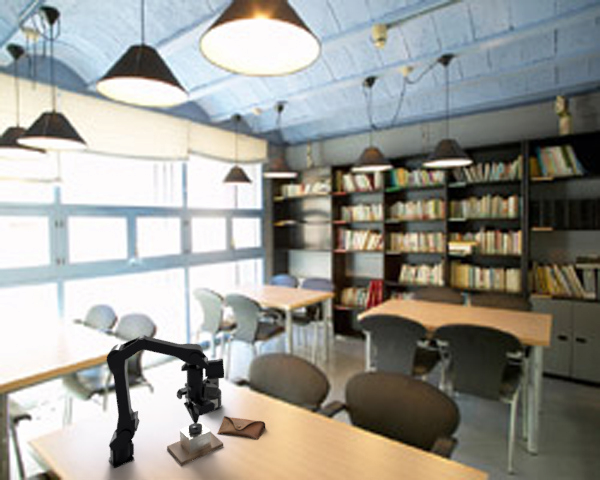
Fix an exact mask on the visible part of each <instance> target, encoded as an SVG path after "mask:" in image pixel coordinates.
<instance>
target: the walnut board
mask: <svg viewBox="0 0 600 480" xmlns="http://www.w3.org/2000/svg"><path fill="white" fill-rule="evenodd" d="M222 447H224V442H223V441H221V440H220V439H219V438H218V437H217V436H216V435H215V434H213V433H212V432H211V445H210V446H208V447H206V448H203V449H201V450H199V451H197V452H195V453H192V454H189V453H188V452H187V451H186V450H185V449H184V448H183V447H182V445H181V444H180V440H179V441H176V442H174V443H172V444H169V445H167V446H166V450H167V451H168V452H169V453H170V455H171V456H173V458H174V459H175V460H176V461H177V462H178V464H179V465H180V466H181V467H182V466H184V465H186V464H189V463H190V462H193V461H194V460H198V459H200V458H202V457H204V456H205V455H208V454H210V453H212V452H214V451H216V450H218V449H220V448H222Z"/></svg>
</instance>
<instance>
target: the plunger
mask: <svg viewBox="0 0 600 480" xmlns="http://www.w3.org/2000/svg"><path fill="white" fill-rule="evenodd" d="M202 424H203V423H202ZM202 424H200V423H199V422H197V423H194V422H193V423H191V424H190V425H189V426H187V427H188V431H189V433H192V434H195V433H199V432H200V431H202Z"/></svg>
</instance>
